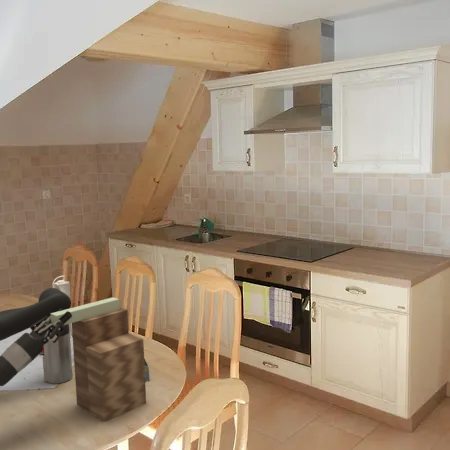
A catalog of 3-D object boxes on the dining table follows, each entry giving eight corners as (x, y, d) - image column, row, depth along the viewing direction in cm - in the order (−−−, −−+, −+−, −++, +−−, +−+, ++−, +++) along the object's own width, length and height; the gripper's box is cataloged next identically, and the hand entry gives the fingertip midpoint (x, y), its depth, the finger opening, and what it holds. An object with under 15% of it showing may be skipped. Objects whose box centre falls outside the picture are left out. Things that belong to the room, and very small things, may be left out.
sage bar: (56, 327, 158) (56, 315, 157) (51, 324, 160) (50, 313, 159) (119, 309, 173) (119, 299, 173) (113, 307, 176) (113, 297, 175)
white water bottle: (58, 335, 235) (53, 275, 231) (76, 335, 235) (72, 274, 231) (51, 343, 227) (46, 280, 223) (70, 342, 227) (65, 279, 222)
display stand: (104, 421, 161) (98, 328, 156) (77, 404, 172) (71, 316, 167) (146, 402, 172) (142, 314, 167) (118, 387, 183) (113, 304, 178)
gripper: (25, 350, 146) (72, 307, 155) (4, 337, 155) (49, 298, 165) (40, 368, 149) (85, 325, 158) (18, 354, 159) (61, 315, 168)
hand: (66, 312), depth 161 cm, fingers closed on sage bar, 3 cm apart
